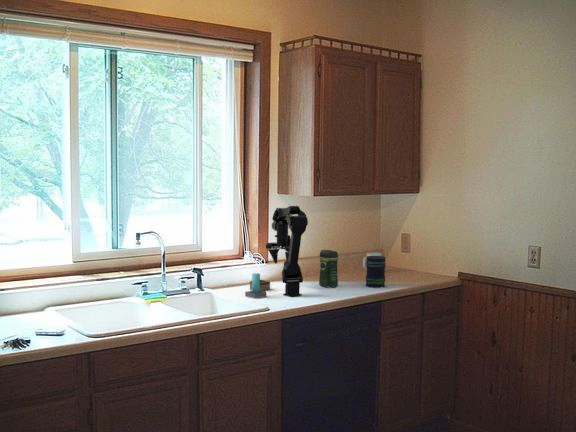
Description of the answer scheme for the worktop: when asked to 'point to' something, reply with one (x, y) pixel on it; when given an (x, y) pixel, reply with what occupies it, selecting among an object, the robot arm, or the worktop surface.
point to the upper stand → (262, 285)
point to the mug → (370, 255)
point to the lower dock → (257, 295)
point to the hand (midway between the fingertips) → (282, 264)
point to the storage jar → (375, 271)
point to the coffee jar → (328, 268)
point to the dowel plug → (255, 283)
